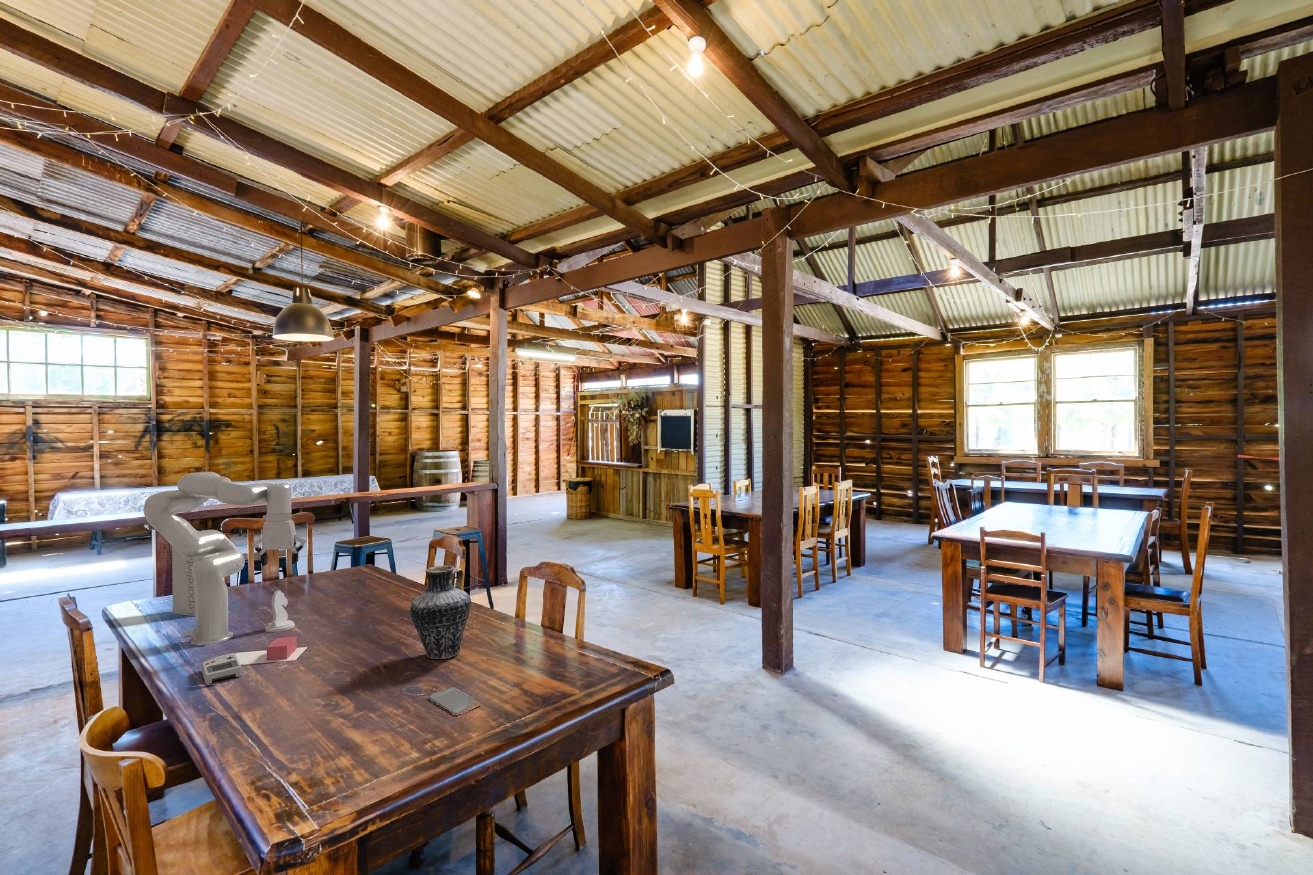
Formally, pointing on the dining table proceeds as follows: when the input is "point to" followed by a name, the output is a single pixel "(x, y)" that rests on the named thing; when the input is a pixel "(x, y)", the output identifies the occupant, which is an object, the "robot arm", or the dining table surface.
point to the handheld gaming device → (221, 667)
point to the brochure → (183, 585)
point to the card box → (281, 648)
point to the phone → (452, 700)
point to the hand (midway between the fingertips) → (279, 564)
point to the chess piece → (279, 614)
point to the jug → (441, 612)
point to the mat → (264, 656)
